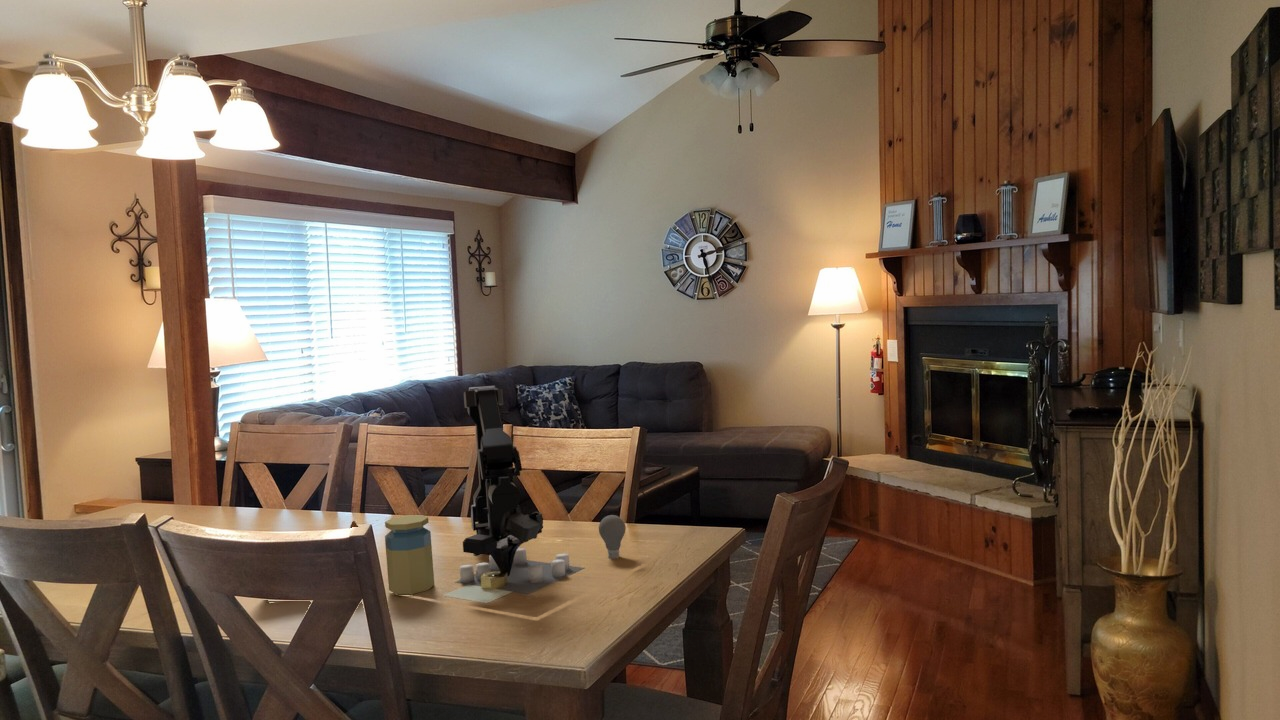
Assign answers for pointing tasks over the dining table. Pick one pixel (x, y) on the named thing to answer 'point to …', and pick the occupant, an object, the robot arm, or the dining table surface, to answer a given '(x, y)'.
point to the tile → (477, 594)
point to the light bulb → (612, 534)
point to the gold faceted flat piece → (494, 580)
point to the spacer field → (522, 572)
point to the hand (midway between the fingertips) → (506, 576)
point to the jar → (409, 555)
